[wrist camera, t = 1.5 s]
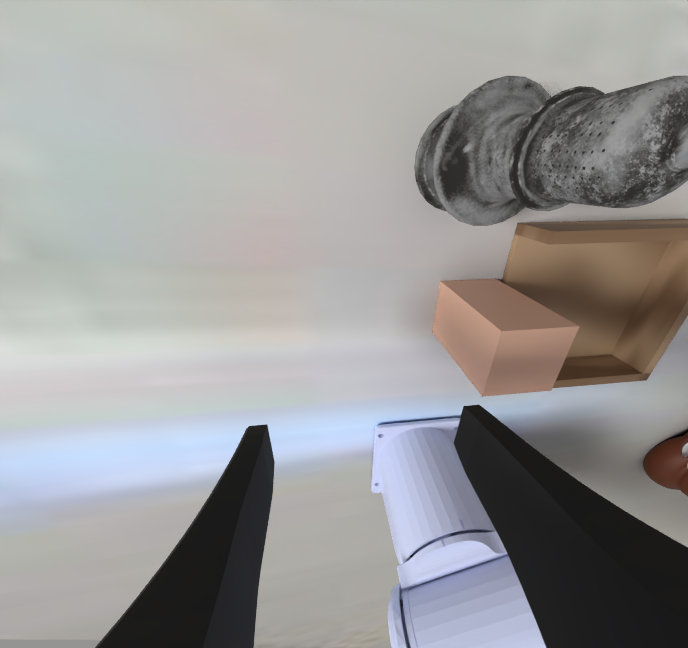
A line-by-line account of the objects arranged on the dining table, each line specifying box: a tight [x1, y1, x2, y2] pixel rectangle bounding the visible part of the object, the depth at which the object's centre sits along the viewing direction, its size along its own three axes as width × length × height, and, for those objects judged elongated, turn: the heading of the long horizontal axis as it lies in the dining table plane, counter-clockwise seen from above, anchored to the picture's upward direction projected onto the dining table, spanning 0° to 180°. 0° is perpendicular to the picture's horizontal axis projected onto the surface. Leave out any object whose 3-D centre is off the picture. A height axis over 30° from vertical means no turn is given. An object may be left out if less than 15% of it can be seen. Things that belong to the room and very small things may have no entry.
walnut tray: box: [502, 219, 688, 388], centre depth 20 cm, size 11×12×3 cm
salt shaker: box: [415, 76, 688, 226], centre depth 11 cm, size 6×6×12 cm
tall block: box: [432, 279, 580, 396], centre depth 18 cm, size 4×4×7 cm
